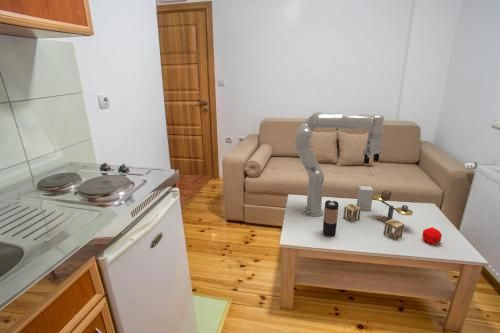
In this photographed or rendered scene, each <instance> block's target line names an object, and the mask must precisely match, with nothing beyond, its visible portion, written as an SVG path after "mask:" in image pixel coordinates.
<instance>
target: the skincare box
mask: <svg viewBox="0 0 500 333" xmlns="http://www.w3.org/2000/svg"><path fill="white" fill-rule="evenodd" d="M373 195H374V189H373V188H372V186H371V185H368V186H367V185H365V186H364V185H359V186H358V191H357V200H356V206H358V207H360V208H361V211H371V210H372V204H373V202H372V201H373Z"/></svg>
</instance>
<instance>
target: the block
mask: <svg viewBox="0 0 500 333" xmlns="http://www.w3.org/2000/svg"><path fill="white" fill-rule="evenodd" d="M380 194H381V199H383V200H386V201H385V202H387V201H389V200H391V198H392V191H390V190H387V189H384V190H382V191H381V193H380Z"/></svg>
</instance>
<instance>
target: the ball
mask: <svg viewBox="0 0 500 333" xmlns="http://www.w3.org/2000/svg"><path fill="white" fill-rule="evenodd" d="M421 235H422V239H423V240H424V241H425V242H427V243H428V244H430V245H434V244H436V243H439V242H441V240H442V237H443V236H442V233H441V231H440V230H439V229H437V228H435V227H433V226H432V227H428V228H425V229H423V231H422V233H421Z"/></svg>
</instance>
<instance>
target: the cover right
mask: <svg viewBox="0 0 500 333" xmlns="http://www.w3.org/2000/svg"><path fill="white" fill-rule="evenodd" d="M387 224H388V225H387ZM404 226H405V223H404V222H401V221H399V220H397V219H395V218H392V219H390V220H388V221H386V222H385V223H384V229H383V235H384V236H386V234H387V237H388V238H389V237H390V238H391V237H392V234H393V233H394V234H393V239H392V240H394V241H396V239H400V238H402V236H403V233H404ZM393 227H395V228H394V232H393ZM392 232H393V233H392Z"/></svg>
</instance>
